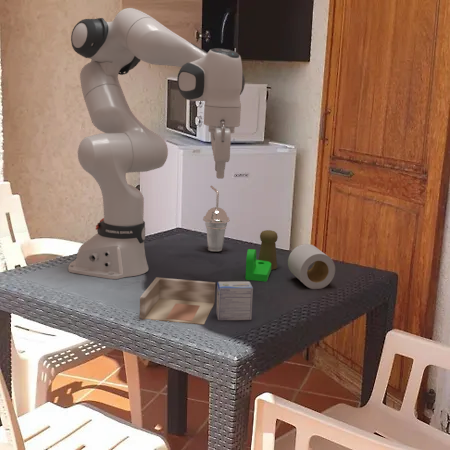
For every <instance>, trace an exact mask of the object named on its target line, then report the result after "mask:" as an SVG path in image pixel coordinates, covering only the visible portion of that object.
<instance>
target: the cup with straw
mask: <svg viewBox="0 0 450 450" xmlns="http://www.w3.org/2000/svg"><path fill="white" fill-rule="evenodd" d="M210 188H211V189H212V190H213V191H214V192H215V194H216V200H215V201H216V202H215V203H216V204H215V206H214V207H211V208H210V209H208V210H207V212H206V214H205V216H203V218H202V221H203V222H205V223H204V224H205V229H206V239H207V247H208V248H207V250H208V251H210V252H221V251H222V250H223V246H224V242H225V236H226V235H225V233H226V229H227V224H228V222H230V217H229V216H228V215H227V212H226V210H224V208H221V207H219V198H220V197H219V196H220V192H219V191H218V190H217V188H215V186H213V185H210Z"/></svg>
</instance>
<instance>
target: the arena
mask: <svg viewBox="0 0 450 450" xmlns="http://www.w3.org/2000/svg"><path fill="white" fill-rule="evenodd" d="M215 302H216V282H213V281H203V280H191V279H179V278H178V279H177V278H168V277H158V276H156V277H155V278H154V280H153V281H151V283H150V285H148V287H147V288H146V289H145V291H144V292H143V293H142V294H141V296H140V297H139V319H140V318H142V319H141V320H145V319H151V320H150V321H156V320H159V321H158V322H167V321H169V322H170V323H177V322H179V324H187V325H189V324H191V325H200V326H201V325H203V326H205V324H206V322H207V320H208V317H209V316H210V313H211V311H212V309H213V308H214V306H215ZM169 322H168V323H169Z"/></svg>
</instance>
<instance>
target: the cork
mask: <svg viewBox="0 0 450 450" xmlns="http://www.w3.org/2000/svg"><path fill="white" fill-rule="evenodd" d="M278 237H279V236H278V233H277V232H276V231H274V230H270V229H268V230H267V229H266V230H262V231H261V232H260V234H259V239H260V241H261V243H260V247H259V249H260V250H259V253H258V258H257V260H262V261H268V262H270V263H271V271H272V270H276V269H277V268H278V262H277V261H278V259H277V247H276V242H277V241H278V239H279V238H278Z"/></svg>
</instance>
